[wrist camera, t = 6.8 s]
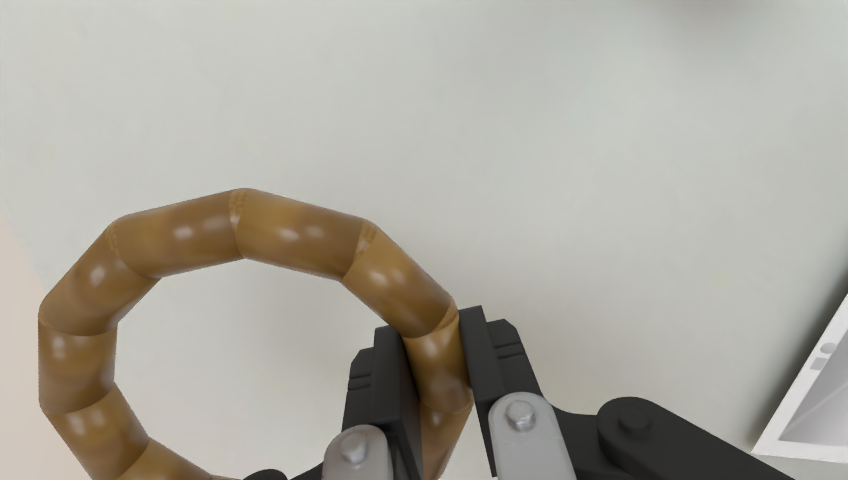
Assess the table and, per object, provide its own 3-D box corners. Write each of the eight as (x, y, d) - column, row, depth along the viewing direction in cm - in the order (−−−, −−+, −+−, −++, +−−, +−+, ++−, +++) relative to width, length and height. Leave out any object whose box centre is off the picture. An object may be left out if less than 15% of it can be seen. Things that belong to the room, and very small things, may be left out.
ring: (173, 533, 16) (150, 583, 15) (-23, 243, 12) (-84, 273, 10) (494, 469, 16) (504, 514, 14) (418, 139, 11) (421, 155, 10)
